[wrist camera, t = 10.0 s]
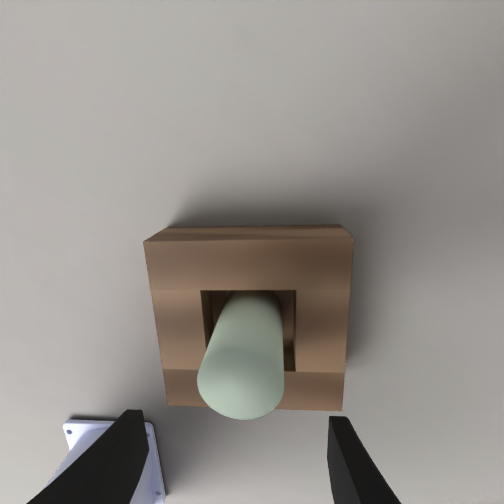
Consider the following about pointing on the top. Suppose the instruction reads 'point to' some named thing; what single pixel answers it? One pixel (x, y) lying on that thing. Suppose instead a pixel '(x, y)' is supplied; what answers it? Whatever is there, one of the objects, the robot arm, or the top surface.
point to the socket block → (254, 278)
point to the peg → (245, 357)
